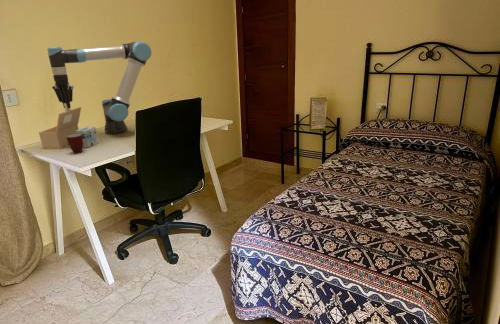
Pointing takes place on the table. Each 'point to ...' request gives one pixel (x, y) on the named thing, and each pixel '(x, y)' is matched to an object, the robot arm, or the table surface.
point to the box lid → (68, 119)
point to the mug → (75, 142)
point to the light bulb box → (88, 136)
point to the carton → (56, 137)
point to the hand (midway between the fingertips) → (68, 113)
